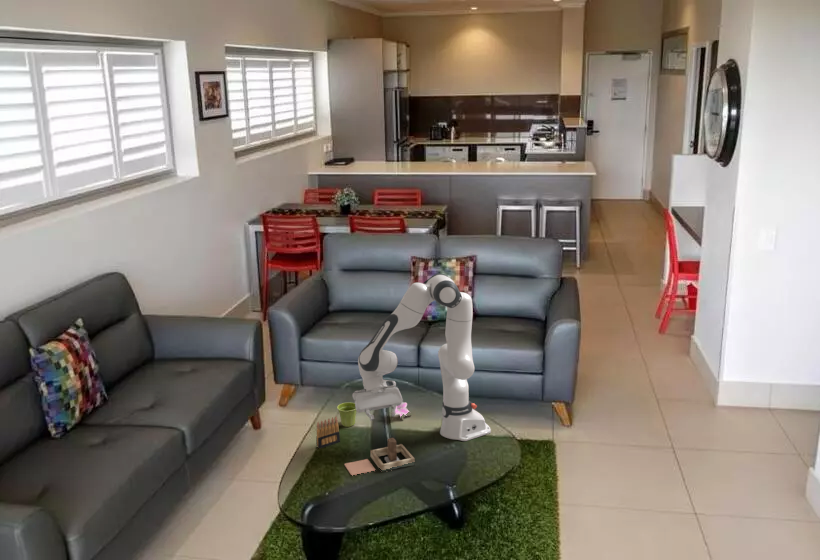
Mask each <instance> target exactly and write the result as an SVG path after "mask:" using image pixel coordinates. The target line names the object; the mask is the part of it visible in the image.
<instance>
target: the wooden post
mask: <svg viewBox="0 0 820 560" xmlns="http://www.w3.org/2000/svg"><path fill="white" fill-rule="evenodd" d="M396 445H397V440H396V439H395V438H394V437H390V438H387V447H388V455H387V456H385V457H384V461H385V462H386V463H390V462H395V461H399V460H401V459H400V458H399V456H397V455H398V453H397V450H396Z"/></svg>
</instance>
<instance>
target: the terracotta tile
mask: <svg viewBox="0 0 820 560" xmlns="http://www.w3.org/2000/svg"><path fill="white" fill-rule="evenodd" d="M344 467H345V468H346V469H347V471H348V473H349V474H350V475H352V476H351V477H354V476H353V475H355V476H358V475H357V474H360V475H362V474H361V473H364V474H368V473H367V472H369V473H372V472H371V471H374V472H376V471H375V470H376V468H375V467H374V466H373V464H372V463H371V461H370V460H369V459H368V458H365V459H360V460H356V461H355V460H354V461H352V462H351V461H350V462H346V463H344Z"/></svg>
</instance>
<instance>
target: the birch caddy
mask: <svg viewBox="0 0 820 560" xmlns="http://www.w3.org/2000/svg"><path fill="white" fill-rule="evenodd" d="M396 450H397V454H399V453H401V454H402V456H404V459H400V460H399V461H395V462H390V463H387V462H386V463H383V461H382V460H381V458H380V457H382V456H388V446H385V447H380V448H375V449H370V458H371V460H372V461H373V462H374V463H375V465H376V466H377V468H378V469H379V468H380V469H381V470H386V469H390V468H392V467H397V466H402V465H404V464H408V463H412V462H416V461H415V457H414V456H413V455H412V454H411V453H410V451H409V450H408V449H407V448H406V447H405V445H403V444H402V443H399V444H396ZM380 469H379V470H380ZM381 470H380V471H381Z"/></svg>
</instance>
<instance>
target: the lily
mask: <svg viewBox="0 0 820 560" xmlns="http://www.w3.org/2000/svg"><path fill="white" fill-rule="evenodd" d="M407 406H408V403H407V402H404V401H403V402H402V404H401V405H399V406H396V409H395V414H396V415H399V416H400V418H401V416H402V415H403V414H404V416H407V415H406V414H407V413H408V412H410V411H409V410H408V408H407Z"/></svg>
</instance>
